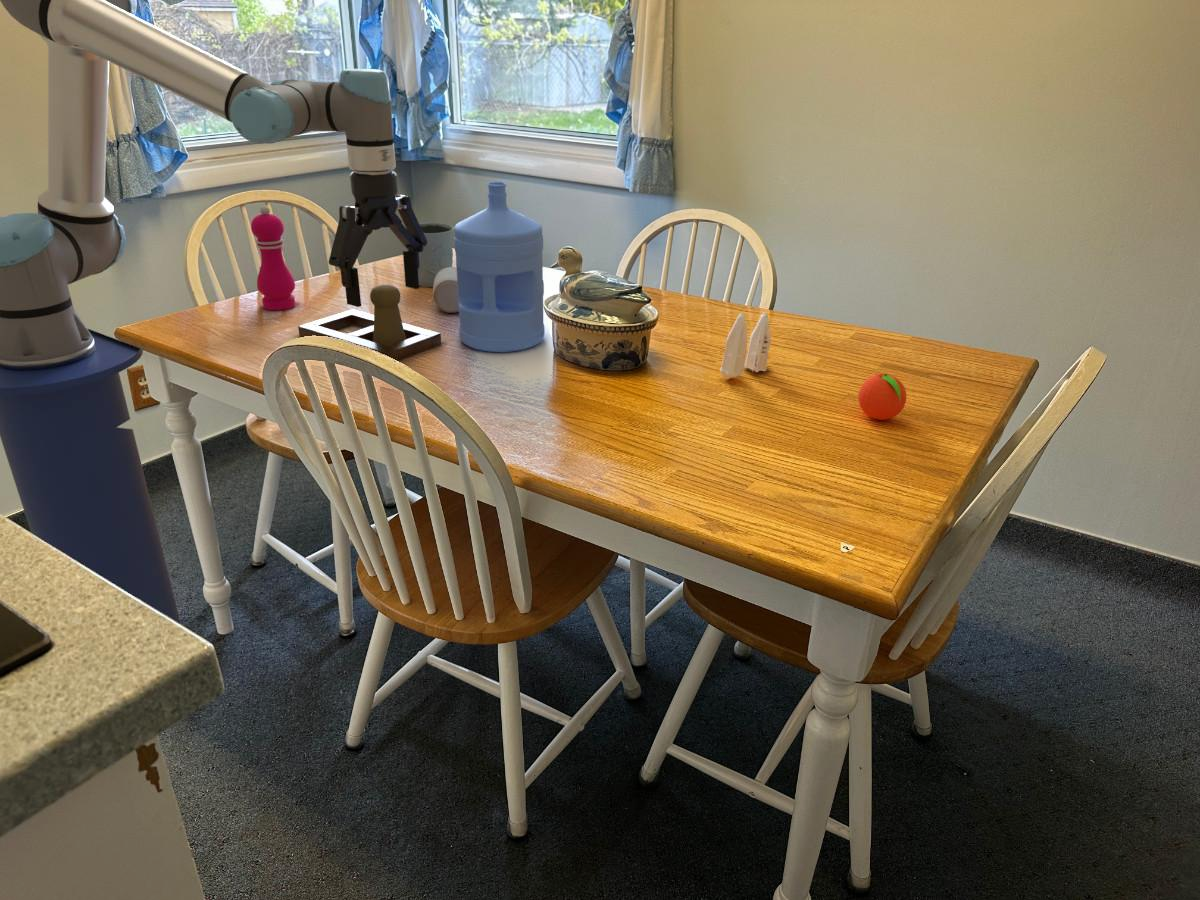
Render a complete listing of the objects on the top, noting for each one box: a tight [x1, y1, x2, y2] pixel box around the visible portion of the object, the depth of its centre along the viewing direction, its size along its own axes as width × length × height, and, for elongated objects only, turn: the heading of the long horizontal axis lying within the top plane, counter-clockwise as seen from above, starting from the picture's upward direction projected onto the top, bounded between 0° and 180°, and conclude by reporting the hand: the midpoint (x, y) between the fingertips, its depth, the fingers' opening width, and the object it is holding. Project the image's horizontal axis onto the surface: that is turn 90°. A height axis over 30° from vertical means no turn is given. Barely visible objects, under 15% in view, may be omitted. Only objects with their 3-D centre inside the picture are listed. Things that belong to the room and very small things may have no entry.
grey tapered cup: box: [405, 222, 455, 288], centre depth 193 cm, size 10×10×12 cm
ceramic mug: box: [432, 266, 459, 314], centre depth 177 cm, size 11×8×8 cm
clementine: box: [857, 373, 907, 421], centre depth 132 cm, size 8×7×7 cm
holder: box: [297, 308, 442, 361], centre depth 161 cm, size 13×24×2 cm, turn 55°
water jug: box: [453, 181, 546, 353], centre depth 156 cm, size 16×16×28 cm
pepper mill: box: [250, 205, 296, 311], centre depth 174 cm, size 7×7×20 cm
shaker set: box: [719, 311, 772, 380], centre depth 146 cm, size 12×4×11 cm, turn 134°
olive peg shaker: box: [369, 284, 406, 346], centre depth 156 cm, size 6×6×11 cm
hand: (384, 296), depth 154 cm, fingers open, 13 cm apart
